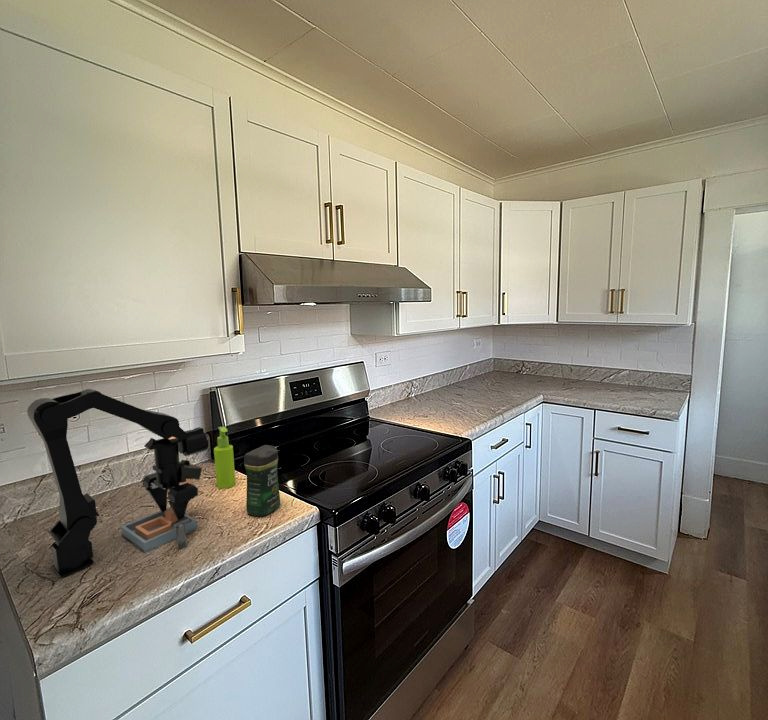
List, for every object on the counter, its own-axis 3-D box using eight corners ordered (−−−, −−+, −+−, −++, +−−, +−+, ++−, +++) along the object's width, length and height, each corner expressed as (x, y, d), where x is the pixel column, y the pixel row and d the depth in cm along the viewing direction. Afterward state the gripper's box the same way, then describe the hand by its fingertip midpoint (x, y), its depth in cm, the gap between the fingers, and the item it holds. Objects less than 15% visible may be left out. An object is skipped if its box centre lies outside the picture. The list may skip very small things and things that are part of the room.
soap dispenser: (219, 491, 136) (214, 431, 133) (215, 484, 141) (210, 426, 139) (238, 487, 139) (234, 428, 136) (233, 480, 144) (229, 423, 142)
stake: (176, 551, 103) (173, 525, 102) (172, 548, 104) (169, 522, 103) (192, 544, 106) (189, 518, 105) (187, 541, 107) (185, 516, 106)
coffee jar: (264, 519, 117) (260, 455, 115) (242, 514, 120) (238, 452, 118) (285, 504, 126) (282, 444, 124) (264, 500, 129) (260, 441, 127)
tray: (145, 552, 102) (144, 543, 102) (121, 535, 110) (120, 526, 110) (197, 528, 113) (196, 520, 113) (172, 514, 121) (171, 506, 121)
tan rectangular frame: (147, 542, 106) (146, 527, 105) (135, 534, 110) (133, 519, 110) (184, 526, 113) (183, 512, 113) (171, 518, 118) (170, 505, 117)
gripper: (214, 458, 113) (218, 513, 115) (179, 445, 124) (183, 496, 126) (173, 472, 104) (178, 531, 106) (139, 457, 115) (144, 511, 117)
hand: (172, 516), depth 114 cm, fingers open, 9 cm apart
